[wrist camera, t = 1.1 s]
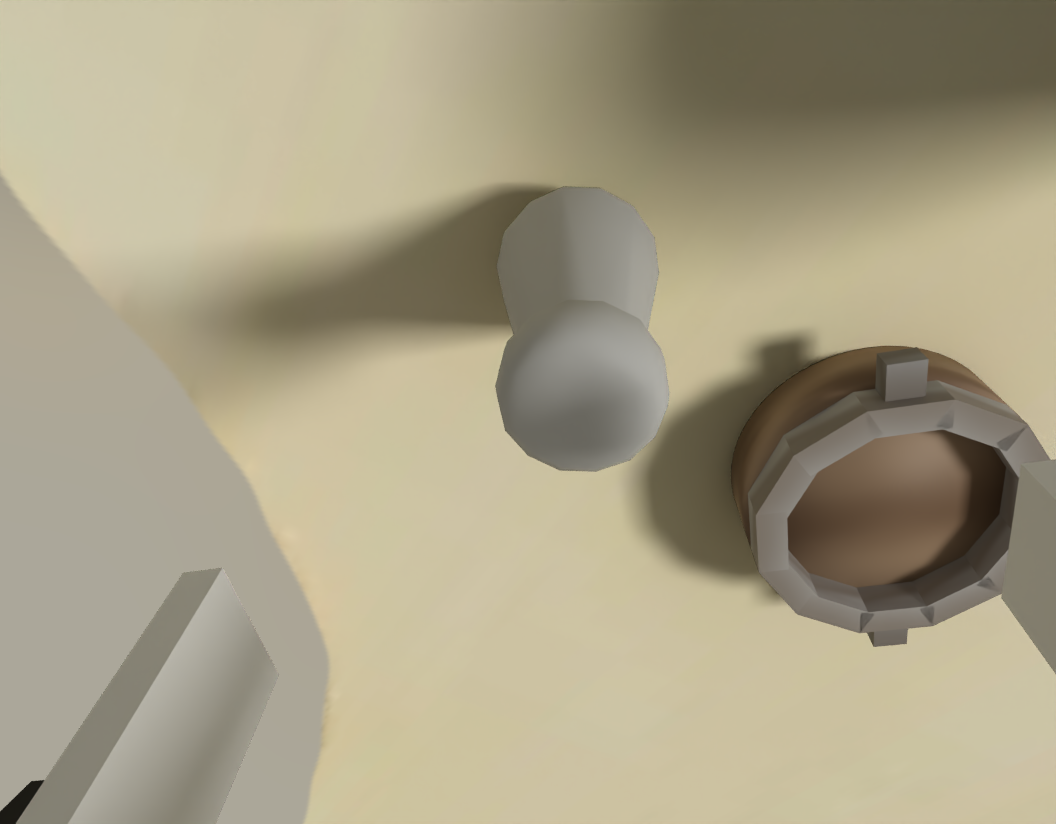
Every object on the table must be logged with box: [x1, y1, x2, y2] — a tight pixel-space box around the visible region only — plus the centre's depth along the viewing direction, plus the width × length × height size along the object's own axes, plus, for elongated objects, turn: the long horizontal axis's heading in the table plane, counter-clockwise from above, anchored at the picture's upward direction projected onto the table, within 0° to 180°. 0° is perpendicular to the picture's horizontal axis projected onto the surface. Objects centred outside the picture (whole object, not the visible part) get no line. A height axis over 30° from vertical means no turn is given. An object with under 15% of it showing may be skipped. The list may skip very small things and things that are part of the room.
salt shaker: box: [495, 186, 669, 472], centre depth 23 cm, size 6×6×13 cm
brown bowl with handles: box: [731, 346, 1050, 647], centre depth 31 cm, size 14×12×4 cm
